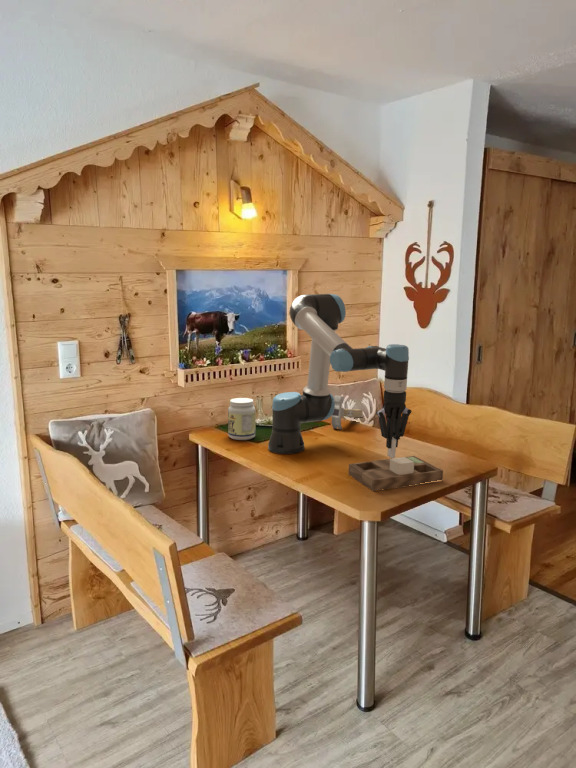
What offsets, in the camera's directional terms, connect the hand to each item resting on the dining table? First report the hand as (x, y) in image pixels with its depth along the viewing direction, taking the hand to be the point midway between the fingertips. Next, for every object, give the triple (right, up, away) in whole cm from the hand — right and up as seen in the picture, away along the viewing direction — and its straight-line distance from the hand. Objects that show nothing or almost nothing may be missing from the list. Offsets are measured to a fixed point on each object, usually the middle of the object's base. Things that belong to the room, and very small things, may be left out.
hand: (391, 456), depth 198 cm
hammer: (-7, +5, +82) cm, 83 cm away
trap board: (+3, -9, +7) cm, 11 cm away
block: (+4, -6, +2) cm, 7 cm away
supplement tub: (-57, +1, +58) cm, 81 cm away
